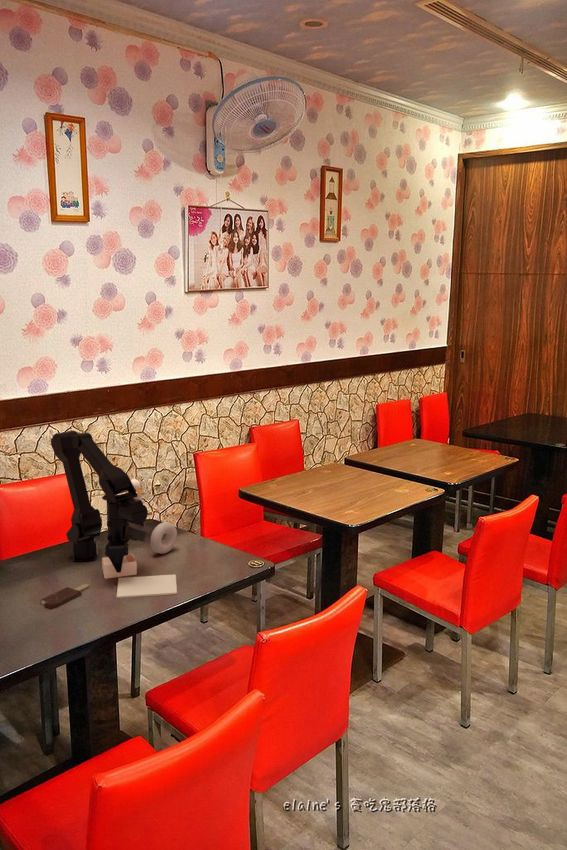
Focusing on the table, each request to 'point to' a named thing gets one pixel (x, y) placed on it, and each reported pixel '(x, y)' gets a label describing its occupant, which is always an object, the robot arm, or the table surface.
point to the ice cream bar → (62, 596)
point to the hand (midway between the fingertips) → (119, 567)
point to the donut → (169, 541)
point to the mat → (146, 586)
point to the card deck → (126, 570)
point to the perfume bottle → (137, 489)
